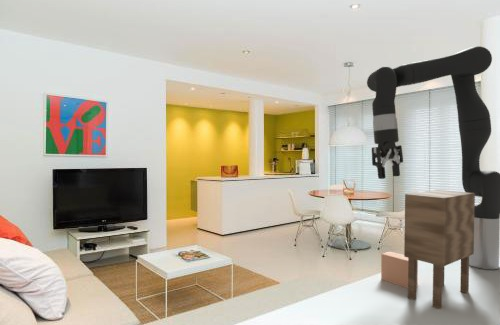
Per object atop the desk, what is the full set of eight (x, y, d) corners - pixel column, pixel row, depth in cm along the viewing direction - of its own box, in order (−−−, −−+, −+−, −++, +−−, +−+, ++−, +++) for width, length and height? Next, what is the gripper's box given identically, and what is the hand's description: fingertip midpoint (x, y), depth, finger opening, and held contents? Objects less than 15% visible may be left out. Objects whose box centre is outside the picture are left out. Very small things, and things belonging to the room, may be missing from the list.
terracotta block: (389, 276, 107) (389, 251, 106) (417, 285, 99) (417, 258, 99) (381, 279, 104) (381, 253, 104) (409, 288, 97) (409, 261, 97)
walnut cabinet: (431, 280, 103) (433, 189, 102) (472, 293, 93) (474, 193, 93) (399, 295, 92) (400, 193, 91) (442, 310, 83) (444, 198, 82)
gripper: (383, 127, 104) (387, 179, 104) (407, 127, 113) (411, 175, 113) (362, 130, 110) (366, 179, 111) (387, 129, 119) (391, 175, 119)
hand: (389, 177), depth 112 cm, fingers open, 8 cm apart
